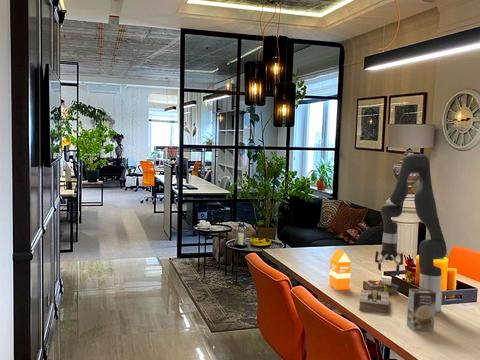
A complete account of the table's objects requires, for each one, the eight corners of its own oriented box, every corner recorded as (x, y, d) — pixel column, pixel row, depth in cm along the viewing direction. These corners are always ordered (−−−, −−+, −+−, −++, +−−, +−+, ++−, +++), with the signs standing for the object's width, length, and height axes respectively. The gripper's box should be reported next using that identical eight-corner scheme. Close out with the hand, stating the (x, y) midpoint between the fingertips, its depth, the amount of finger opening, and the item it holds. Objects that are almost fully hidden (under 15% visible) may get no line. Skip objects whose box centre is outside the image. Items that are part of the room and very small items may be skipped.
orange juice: (336, 289, 250) (338, 252, 248) (329, 284, 258) (330, 248, 257) (349, 289, 252) (351, 251, 250) (342, 284, 260) (343, 248, 259)
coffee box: (412, 331, 195) (414, 293, 194) (406, 325, 202) (408, 288, 201) (434, 331, 196) (436, 293, 194) (427, 325, 202) (429, 288, 201)
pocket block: (360, 297, 238) (361, 289, 238) (388, 300, 234) (388, 292, 234) (359, 310, 219) (359, 301, 219) (388, 313, 216) (389, 304, 215)
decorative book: (362, 288, 254) (362, 279, 254) (390, 288, 256) (391, 279, 256) (371, 295, 243) (371, 285, 242) (400, 294, 245) (401, 285, 245)
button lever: (372, 299, 233) (372, 290, 234) (376, 299, 233) (376, 290, 233) (372, 302, 224) (372, 292, 225) (376, 302, 224) (376, 293, 224)
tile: (381, 279, 255) (381, 275, 255) (391, 280, 254) (391, 276, 254) (380, 284, 246) (381, 280, 246) (391, 285, 244) (391, 281, 244)
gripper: (403, 241, 253) (402, 270, 254) (375, 238, 257) (374, 268, 258) (404, 243, 246) (402, 274, 247) (375, 241, 250) (374, 271, 251)
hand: (388, 271), depth 253 cm, fingers open, 8 cm apart
